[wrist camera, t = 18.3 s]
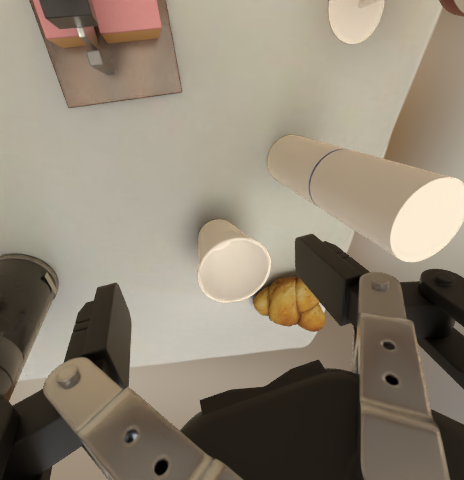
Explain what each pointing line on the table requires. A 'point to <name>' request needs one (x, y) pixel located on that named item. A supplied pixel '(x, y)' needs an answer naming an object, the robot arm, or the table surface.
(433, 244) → the cylindrical container
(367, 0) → the wineglass
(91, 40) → the black handled scraper
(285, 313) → the bread roll
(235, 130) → the table surface
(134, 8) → the cake
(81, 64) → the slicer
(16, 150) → the table surface
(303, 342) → the table surface
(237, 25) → the table surface
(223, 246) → the cup
